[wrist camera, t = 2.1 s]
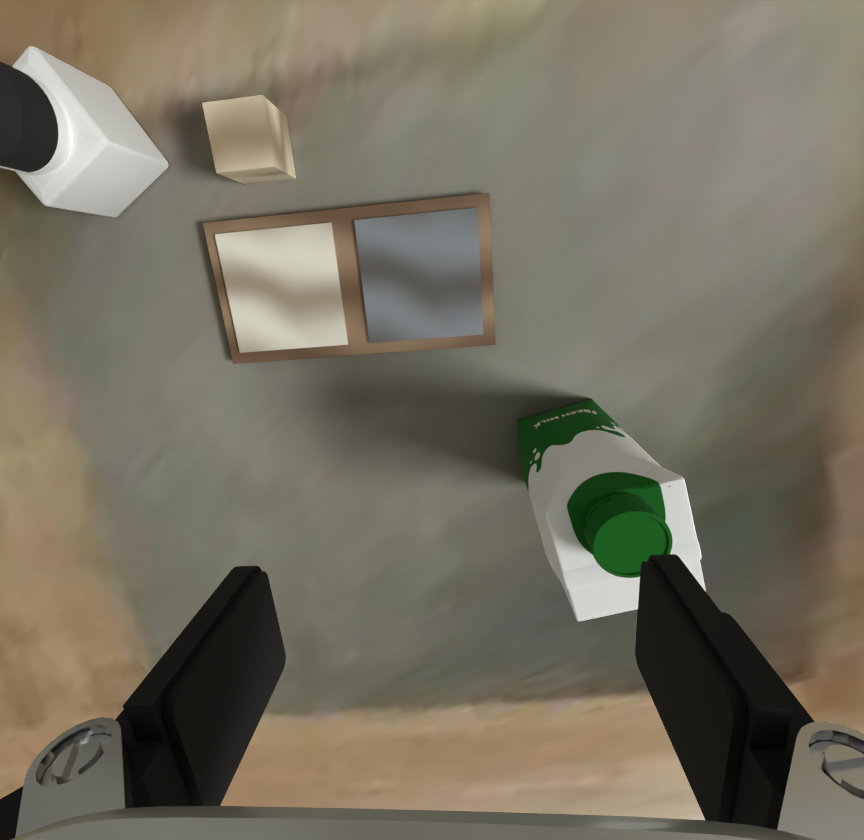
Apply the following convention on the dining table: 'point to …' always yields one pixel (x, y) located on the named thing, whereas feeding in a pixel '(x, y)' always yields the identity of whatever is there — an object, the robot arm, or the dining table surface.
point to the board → (356, 279)
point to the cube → (249, 140)
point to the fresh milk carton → (602, 507)
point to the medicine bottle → (72, 137)
